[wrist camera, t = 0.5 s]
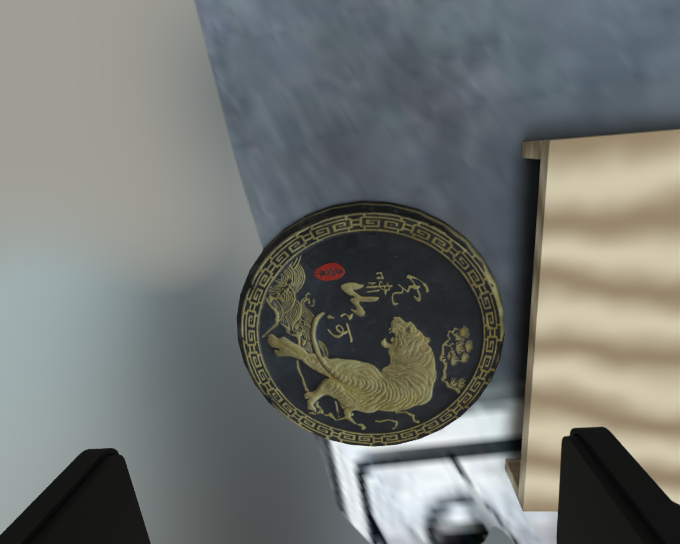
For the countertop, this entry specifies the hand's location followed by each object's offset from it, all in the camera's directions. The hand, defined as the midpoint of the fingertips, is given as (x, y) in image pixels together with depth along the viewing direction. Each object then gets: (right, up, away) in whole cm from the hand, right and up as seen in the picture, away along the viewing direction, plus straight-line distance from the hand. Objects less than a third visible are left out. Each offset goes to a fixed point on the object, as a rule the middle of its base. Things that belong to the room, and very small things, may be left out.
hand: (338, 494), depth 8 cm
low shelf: (+29, -1, +34) cm, 45 cm away
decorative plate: (+3, -2, +37) cm, 37 cm away
